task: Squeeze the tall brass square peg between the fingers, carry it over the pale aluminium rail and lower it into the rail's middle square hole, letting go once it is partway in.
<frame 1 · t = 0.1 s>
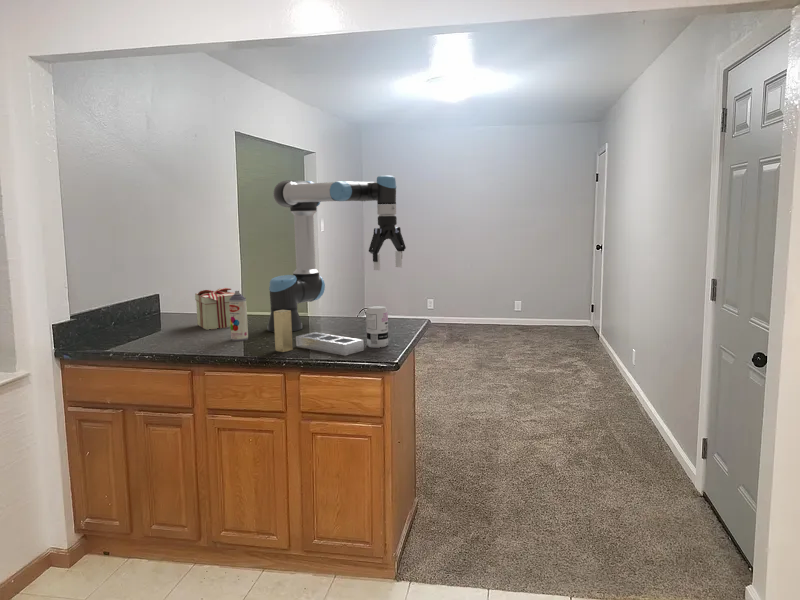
hand: (388, 268, 253), 28 cm above the countertop, tool pointing down, fingers open, 13 cm apart
gift box: (220, 326, 288), on the countertop
supplement can: (377, 346, 241), on the countertop
aerosol can: (239, 339, 258), on the countertop
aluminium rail: (329, 348, 238), on the countertop
brass peg: (284, 350, 236), on the countertop
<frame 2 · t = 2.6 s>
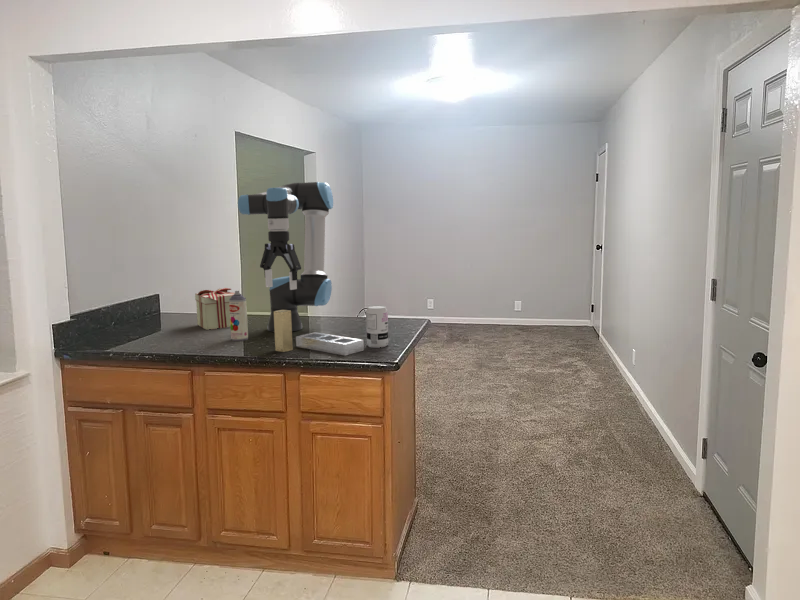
hand: (281, 288, 233), 24 cm above the countertop, tool pointing down, fingers open, 13 cm apart
nothing on the countertop moved.
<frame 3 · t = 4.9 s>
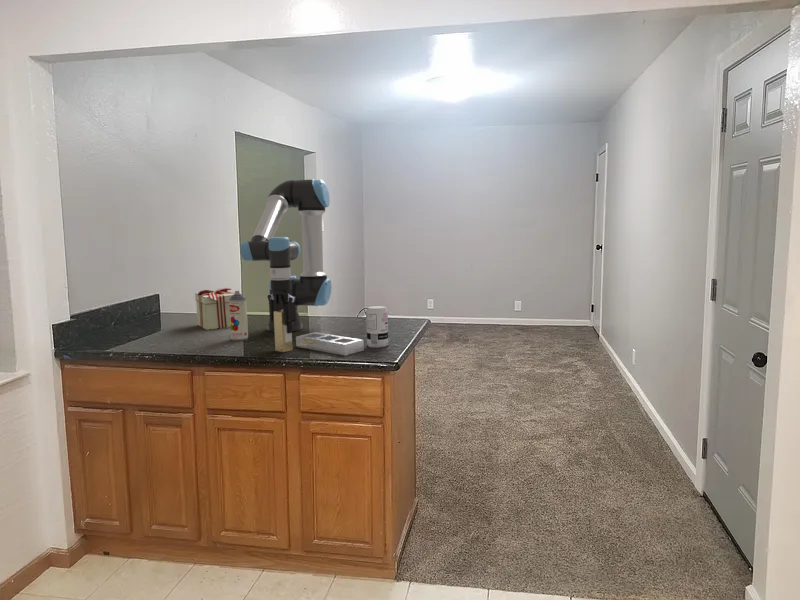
hand: (283, 340, 236), 4 cm above the countertop, tool pointing down, fingers closed on brass peg, 4 cm apart
brass peg: (284, 350, 236), on the countertop, touching gripper
everything else where it was.
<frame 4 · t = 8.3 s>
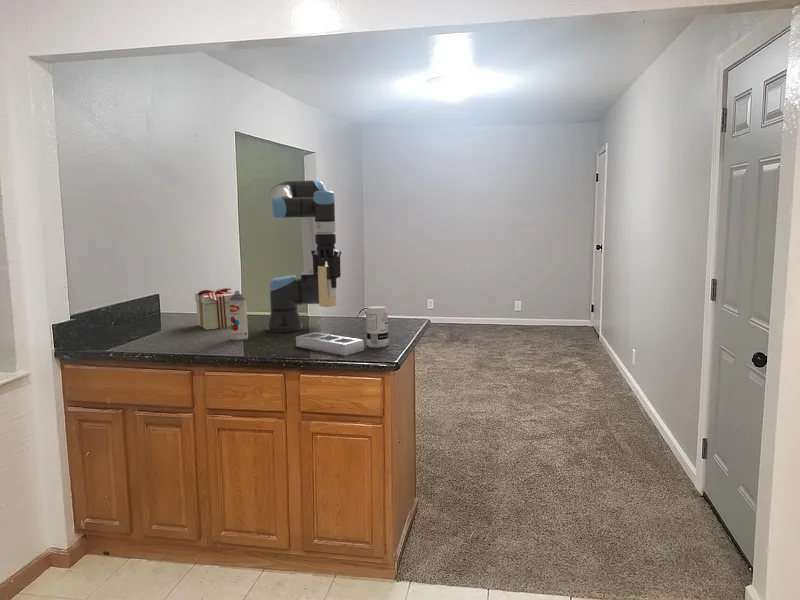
hand: (327, 295, 235), 20 cm above the countertop, tool pointing down, fingers closed on brass peg, 4 cm apart
brass peg: (327, 305, 236), point 16 cm above the countertop, touching gripper
everything else where it was.
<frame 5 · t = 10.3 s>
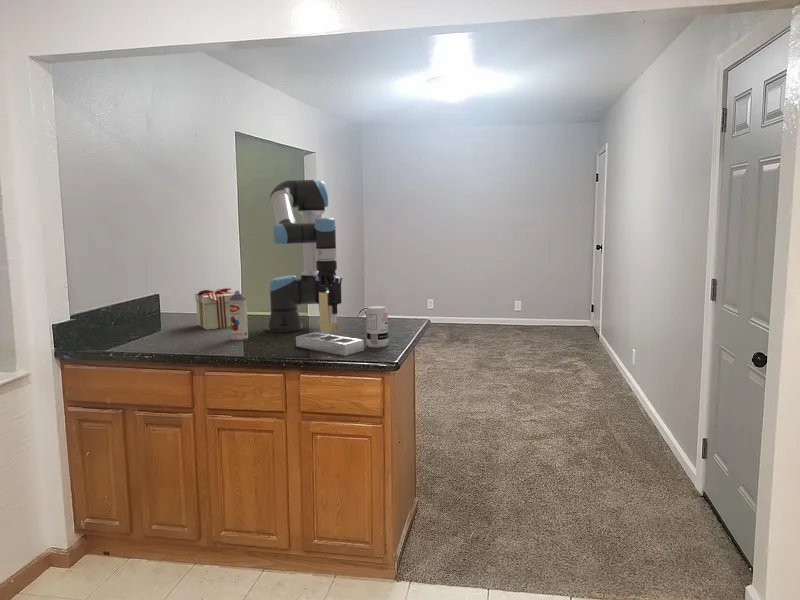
hand: (328, 321, 237), 10 cm above the countertop, tool pointing down, fingers closed on brass peg, 4 cm apart
brass peg: (328, 331, 237), point 7 cm above the countertop, touching gripper
everything else where it was.
when the fingers open (6 cm above the countertop, at t = 11.8 s): brass peg drops 2 cm, resting in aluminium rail.
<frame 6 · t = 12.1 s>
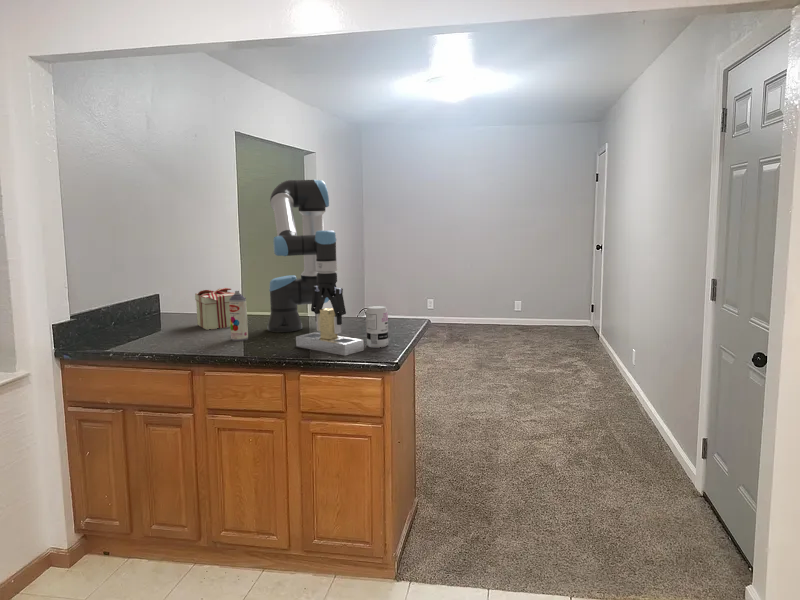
hand: (328, 331, 237), 6 cm above the countertop, tool pointing down, fingers open, 9 cm apart
brass peg: (329, 348, 238), resting in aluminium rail
everything else where it was.
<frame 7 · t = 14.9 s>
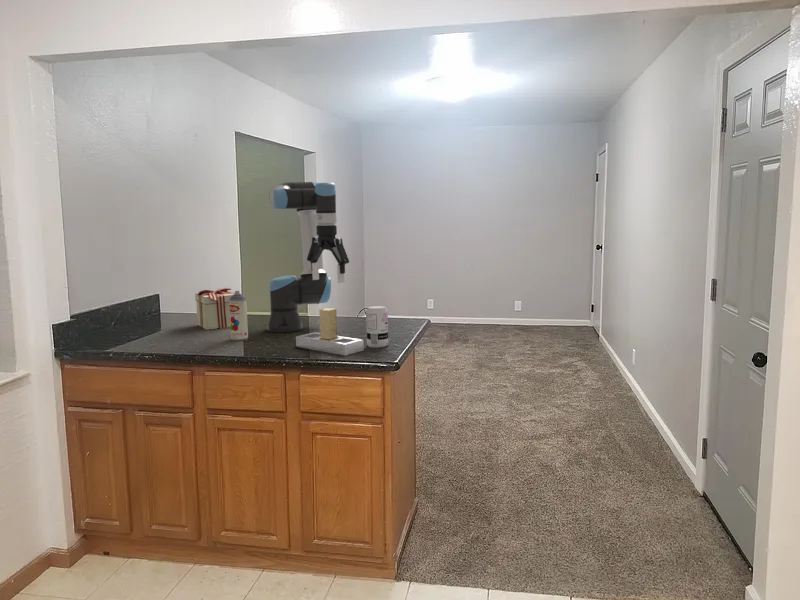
hand: (328, 281, 238), 25 cm above the countertop, tool pointing down, fingers open, 13 cm apart
nothing on the countertop moved.
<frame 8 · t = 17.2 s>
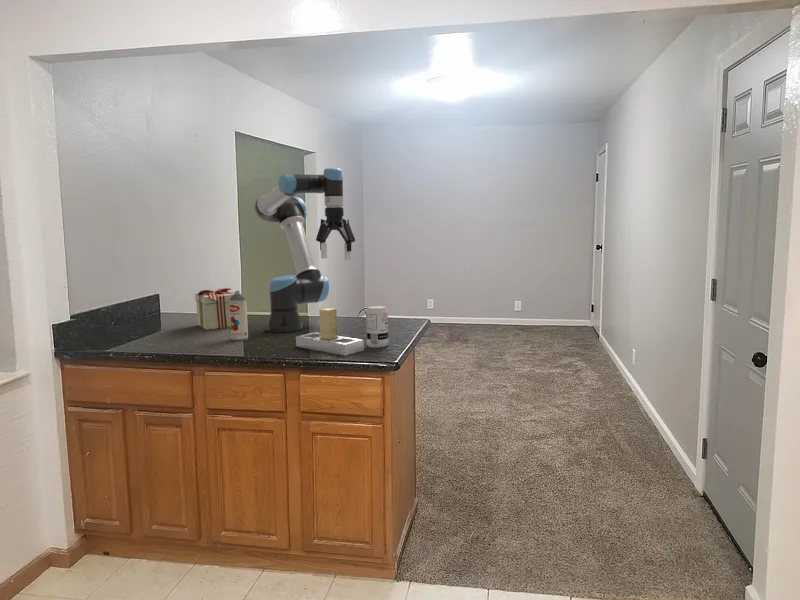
hand: (335, 259, 260), 32 cm above the countertop, tool pointing down, fingers open, 13 cm apart
nothing on the countertop moved.
at the end: brass peg 0.1 cm off-centre on the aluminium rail, point 0.0 cm above the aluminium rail's base; brass peg tilted 0°; the gripper is holding nothing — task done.
